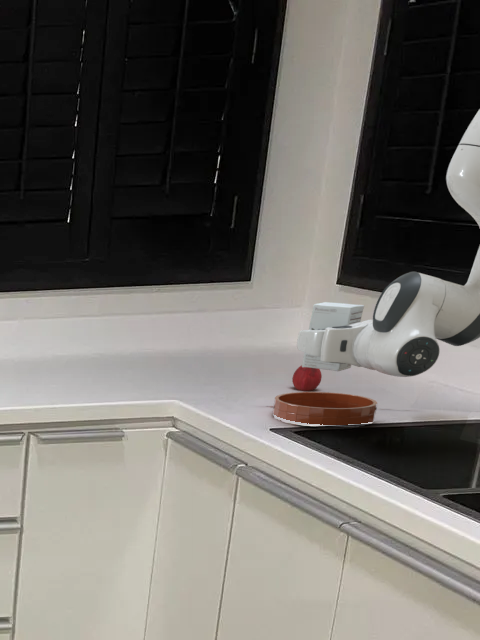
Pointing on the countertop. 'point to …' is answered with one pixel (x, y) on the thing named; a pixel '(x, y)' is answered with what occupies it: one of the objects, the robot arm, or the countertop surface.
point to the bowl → (325, 408)
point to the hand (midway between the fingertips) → (336, 334)
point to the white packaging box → (331, 317)
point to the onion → (306, 378)
